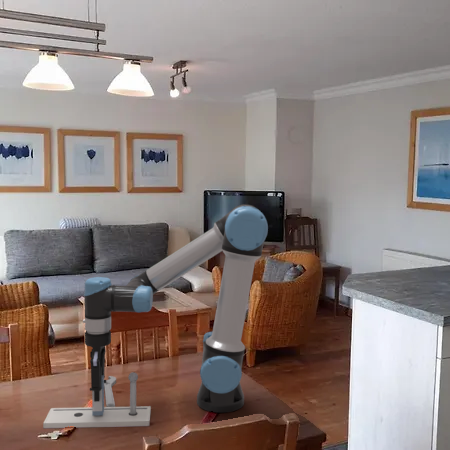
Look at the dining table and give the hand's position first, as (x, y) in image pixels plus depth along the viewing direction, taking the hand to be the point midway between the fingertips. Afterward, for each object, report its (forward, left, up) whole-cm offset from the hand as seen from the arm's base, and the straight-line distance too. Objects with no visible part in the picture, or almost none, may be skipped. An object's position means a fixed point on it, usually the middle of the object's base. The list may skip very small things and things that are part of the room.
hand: (98, 407), depth 164 cm
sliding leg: (0, 0, -2) cm, 2 cm away
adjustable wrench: (0, -19, -4) cm, 19 cm away
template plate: (0, 0, -4) cm, 4 cm away
